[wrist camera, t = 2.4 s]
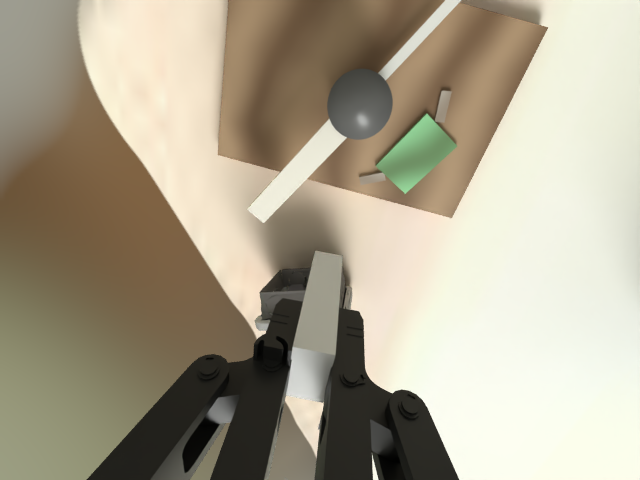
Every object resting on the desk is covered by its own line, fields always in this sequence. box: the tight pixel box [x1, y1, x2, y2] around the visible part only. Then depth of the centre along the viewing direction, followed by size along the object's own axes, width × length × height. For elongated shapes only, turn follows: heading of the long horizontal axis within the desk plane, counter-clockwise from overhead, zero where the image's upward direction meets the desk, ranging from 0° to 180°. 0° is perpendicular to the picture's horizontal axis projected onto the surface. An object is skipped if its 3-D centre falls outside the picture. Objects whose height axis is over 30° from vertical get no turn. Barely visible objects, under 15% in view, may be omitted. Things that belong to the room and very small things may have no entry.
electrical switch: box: [255, 267, 352, 331], centre depth 33 cm, size 9×5×9 cm, turn 99°
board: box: [218, 0, 548, 218], centre depth 26 cm, size 24×16×2 cm, turn 77°
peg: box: [247, 0, 461, 223], centre depth 23 cm, size 22×4×6 cm, turn 137°
